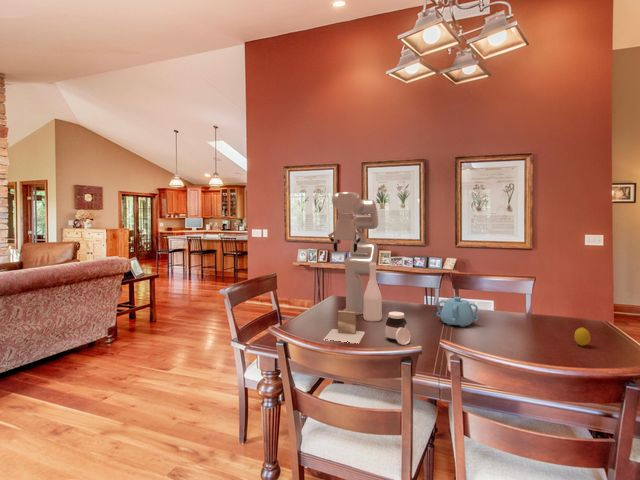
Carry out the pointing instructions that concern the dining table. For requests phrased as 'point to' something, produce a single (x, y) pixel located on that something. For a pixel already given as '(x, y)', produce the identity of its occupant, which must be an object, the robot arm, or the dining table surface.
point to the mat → (344, 336)
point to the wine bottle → (372, 298)
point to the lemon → (582, 336)
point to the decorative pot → (457, 312)
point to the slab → (346, 322)
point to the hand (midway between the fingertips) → (345, 251)
